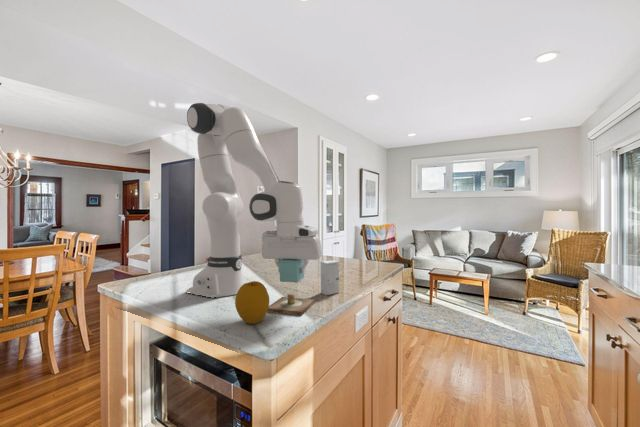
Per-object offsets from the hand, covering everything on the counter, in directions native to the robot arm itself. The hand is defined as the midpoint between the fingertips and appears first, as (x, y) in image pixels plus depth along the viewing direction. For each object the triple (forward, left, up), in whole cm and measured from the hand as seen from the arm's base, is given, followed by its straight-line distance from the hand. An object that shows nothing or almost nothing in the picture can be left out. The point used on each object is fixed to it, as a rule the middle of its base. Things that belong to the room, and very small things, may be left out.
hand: (292, 272), depth 94 cm
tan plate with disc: (-1, 0, -12) cm, 12 cm away
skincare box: (+7, +19, -12) cm, 24 cm away
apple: (-7, -14, -12) cm, 19 cm away
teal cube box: (0, 0, -2) cm, 2 cm away
